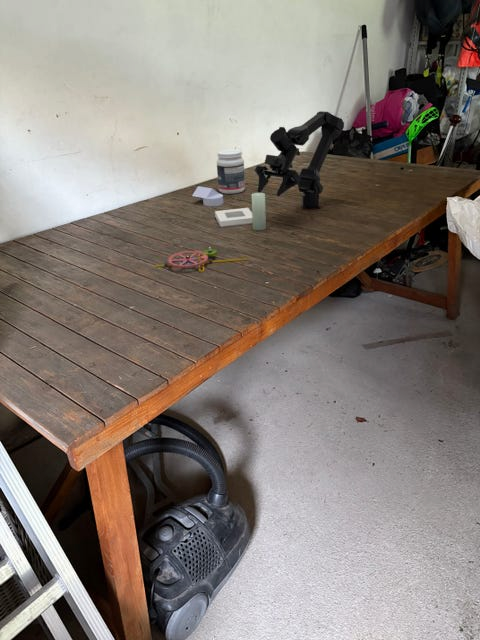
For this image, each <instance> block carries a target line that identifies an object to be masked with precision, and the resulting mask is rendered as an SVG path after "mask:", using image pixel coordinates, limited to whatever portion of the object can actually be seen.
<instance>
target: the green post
mask: <svg viewBox="0 0 480 640" xmlns="http://www.w3.org/2000/svg"><path fill="white" fill-rule="evenodd" d="M251 212H252V220H253V224H252V230H254V231H264V230H266V229H267V222H266V221H267V219H266V193H264V192H260V193H259V192H253V193H252V194H251Z"/></svg>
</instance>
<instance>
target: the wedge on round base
mask: <svg viewBox="0 0 480 640" xmlns="http://www.w3.org/2000/svg"><path fill="white" fill-rule="evenodd" d="M192 197H197V198H202V202H203V206H205V207H218V206H222V205H223V204H224V195H223V193H220V192H218V191H217V190H215V189H214V188H212V187H207V186H201V185H200V186H197V187H196V189H195V190H194V192H193V194H192Z"/></svg>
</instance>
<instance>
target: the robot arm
mask: <svg viewBox="0 0 480 640" xmlns="http://www.w3.org/2000/svg"><path fill="white" fill-rule="evenodd" d="M320 128H321V130H320V131H321V137H320V139H319V141H318V145H317V146H316V149H315V151H314V152H313V156H312V158H311V159H310V162H309V164H308V167H306V168H304V167H302V169H301V171H300V173H299V172H298V171H297V170H295V169H292V168H293V167H294V166H293V164H292V163H293V162H294V160H295V158H296V156H298V157H299V156H300V155H301V151H300V148H298V146H305V144H306V143H307V142H308V141H309V140H310V136H311V135H312V134H313V133H314V132H316V131H317V130H318V129H320ZM344 128H345V123H344V121H343V119H342V118H341V117H338V116H336V115H334V114H332V113H331V112H329V111H321V110H319V111H317V112H316V114H315V115H314V116H312V117H310V119H308V120H306V122H304V123H303V124H301V125H299V126H294V127H292V128H289V129H288V130H286V128H285V127H284V126H279V128H278V129H276V130H274V131H273V132H272V133H271V134H270V136H269V137H270V138H269V140H270V142H271V143H272V144H273V145H274V147H275V148H276V150H277V151H278V152H280V153H278V155H272V154H266V155H265V160H264V164H266V165H268V167H269V168H270V170H269V169H268V167H267V166H266V165H261V164H258V165H256V167H255V169H254V172H255V173H256V175H257V176H258V186H257V193H262V191H263V190H264V188H265V187H266V186H267V184H268V183H270V180H269V179H271V177H275V178H281V179H282V181H281V184H280V186H279V188H278V189H277V193H276V196H277V197H280V196H281V195H283V194H284V193H285V192H287V190H290V189H291V188H292V187H295V186H296V185H297V188H298V191H299V192H300V193H302V195H301V198H300V200H301V201H300V203H301V204H300V205H301V207H303V208H304V209H305V210H312V209H319V208H321V205H319V204H320V195H321V194H322V193H323V189H324V187H323V185H322V183H321V182H320V181H321V175H320V172H321V169H322V167H323V164H324V163H325V160H326V158H327V155H328V153H329V150H330V148H331V146H332V143H333V142H334V140H336V139H337V138H338V137H339V136H340V135H341V133H342V132H343V129H344Z"/></svg>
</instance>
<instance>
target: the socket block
mask: <svg viewBox="0 0 480 640" xmlns="http://www.w3.org/2000/svg"><path fill="white" fill-rule="evenodd" d="M214 216H215V220H216V222H217V223H218V225H219V227H220V228H228V227H236V226H244V225H245V226H247V225H253V220H252V210H251V209H250V208H249V207H243V208H242V207H241V208H235V209H234V208H233V209H225V210H224V209H223V210H215V211H214Z"/></svg>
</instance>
